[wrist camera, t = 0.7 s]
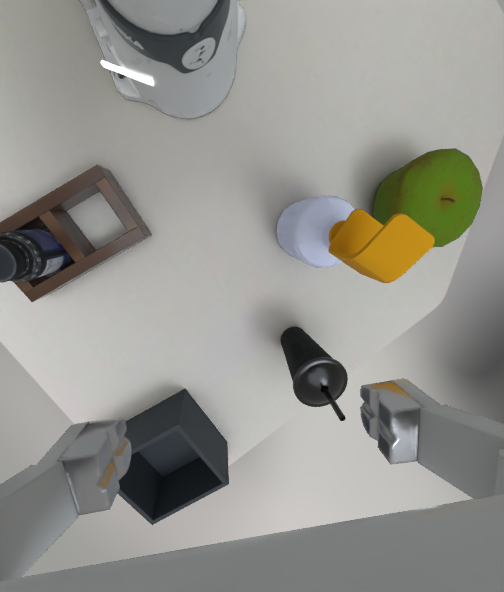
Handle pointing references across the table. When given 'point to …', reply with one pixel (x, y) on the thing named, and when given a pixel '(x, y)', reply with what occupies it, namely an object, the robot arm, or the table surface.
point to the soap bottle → (351, 238)
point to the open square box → (172, 458)
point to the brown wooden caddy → (76, 227)
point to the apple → (433, 194)
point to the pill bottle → (30, 255)
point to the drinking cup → (313, 371)
